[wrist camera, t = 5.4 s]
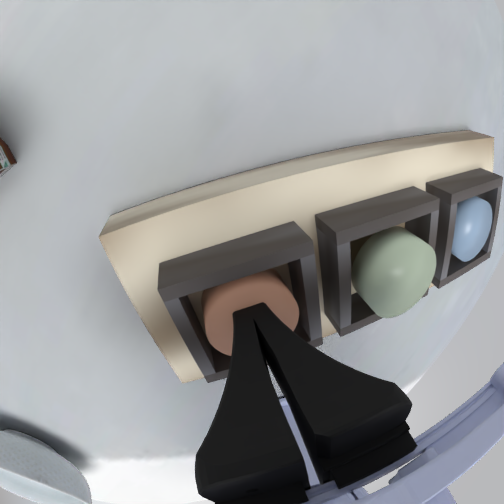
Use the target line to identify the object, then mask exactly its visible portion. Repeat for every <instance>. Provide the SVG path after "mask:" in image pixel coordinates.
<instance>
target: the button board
mask: <svg viewBox="0 0 504 504" xmlns="http://www.w3.org/2000/svg"><path fill="white" fill-rule="evenodd" d="M493 159H494V137H491V136H488V135H484V134H481V133H477V132H473V131H470V130H465V131H454V132H445V133H436V134H428V135H420V136H413V137H406V138H399V139H393V140H387V141H381V142H375V143H369V144H364V145H358V146H353V147H348V148H343V149H338V150H333V151H328V152H323V153H319V154H314V155H310V156H305V157H301V158H297V159H292V160H288V161H284V162H280V163H276V164H272V165H268V166H264V167H260V168H257V169H253V170H249V171H245V172H242V173H238V174H235V175H231V176H228V177H224V178H221V179H217V180H214V181H211V182H207V183H204V184H201V185H198V186H194V187H191V188H188V189H185V190H182V191H179V192H176V193H173V194H170V195H167V196H164V197H161V198H158V199H155V200H152V201H149V202H146V203H144V204H141V205H138V206H135V207H132V208H130V209H127V210H124V211H122V212H119V213H116V214H114V215H111V216H110V217H109V219H108V221H107V223H106V224H105V226H104V228H103V230H102V232H101V233H100V235H99V239H100V241H101V243H102V245H103V247H104V250H105V252H106V254H107V256H108V258H109V260H110V262H111V264H112V266H113V268H114V270H115V272H116V274H117V276H118V278H119V280H120V282H121V284H122V285H123V287H124V289H125V291H126V293H127V295H128V297H129V298H130V300H131V302H132V304H133V306H134V307H135V309H136V311H137V313H138V314H139V316H140V318H141V320H142V321H143V323H144V325H145V326H146V328H147V330H148V331H149V333H150V335H151V336H152V338H153V339H154V341H155V343H156V344H157V346H158V347H159V349H160V351H161V352H162V354H163V355H164V357H165V358H166V360H167V361H168V363H169V364H170V366H171V367H172V369H173V370H174V372H175V373H176V375H177V376H178V378H179V379H180V380H181V382H182V383H186V382H190V381H194V380H198V379H202V378H205V379H206V380H207V382H208V383H210V382H213V381H217V380H220V379H224V378H227V376H228V372H229V366H230V360H231V356H229V355H226V354H223V353H221V352H220V351H218V350H217V349H215V348H214V347H213V346H212V345H211V343H210V342H209V340H208V338H207V334H206V329H205V323H204V318H203V312H202V306H201V298H202V294H203V291H204V290H205V289H208V288H212V287H215V286H218V285H221V284H224V283H227V282H230V281H234V280H237V279H240V278H243V277H246V276H249V275H252V274H255V273H258V272H261V271H264V270H267V269H270V268H273V269H274V270H276V271H277V272H278V273H279V275H280V276H281V277H282V279H283V281H284V282H285V284H286V286H287V287H288V289H289V290H290V292H291V294H292V295H293V297H294V299H295V300H296V302H297V305H298V308H299V319H298V323H297V325H296V328H295V330H294V331H293V332H294V333H296V334H297V335H298V336H299V337H301V338H302V339H303V340H305V341H306V342H307V343H309V344H310V345H312V346H313V347H314V348H315V347H317V346H320V345H322V344H323V339H322V338H324V337H326V336H329V335H331V334H334V333H336V332H338V334H339V335H340V337H341V336H344V335H346V334H348V333H351V332H353V331H355V330H357V329H360V328H362V327H364V326H366V325H368V324H371V323H373V322H375V321H377V320H379V319H381V318H382V317H380V316H378V315H377V314H376V313H375V312H374V311H373V310H372V309H371V308H370V306H369V305H368V304H367V303H366V302H365V301H364V300H363V299H362V297H361V296H360V295H359V294H358V293H357V292H356V291H355V289H354V287H353V285H352V281H351V272H352V267H353V263H354V260H355V258H356V256H357V254H358V252H359V250H360V249H361V247H362V246H363V245H364V243H365V242H366V241H367V240H368V239H369V238H370V237H371V236H372V235H374V234H375V233H376V232H379V231H382V230H385V229H387V228H390V227H393V226H400V227H403V228H405V229H406V230H408V231H409V232H411V233H412V234H414V235H415V236H417V237H418V238H420V239H421V240H423V241H424V242H426V243H427V244H429V245H430V246H431V247H432V248H433V250H434V252H435V255H436V270H435V274H434V277H433V279H432V282H431V284H430V286H429V288H431V287H432V286H434V285H435V286H436V287H437V288H438V289H439V288H441V287H442V286H444V285H446V284H448V283H449V282H451V281H453V280H455V279H456V278H458V277H460V276H461V275H463V274H464V273H466V272H468V271H469V270H471V269H473V268H474V267H476V266H477V265H479V264H480V263H482V262H483V261H485V260H487V259H488V258H490V254H491V250H492V245H493V240H494V236H495V230H496V225H497V219H498V213H499V206H500V199H501V190H502V180H503V177H502V176H499V175H497V174H495V173H493ZM474 196H477V197H479V198H481V199H483V200H485V201H487V202H488V203H489V204H490V206H491V209H492V224H491V229H490V232H489V235H488V238H487V240H486V242H485V244H484V246H483V247H482V249H481V250H480V252H479V253H478V254H477V255H476V256H475V257H474V258H473V259H471V260H469V261H467V262H464V261H461V260H460V259H459V258H457V257H456V256H454V255H453V254H452V253H451V251H452V244H453V238H454V230H455V222H456V213H457V203H459V202H461V201H464V200H466V199H469V198H472V197H474ZM429 288H428V289H429ZM428 289H427V291H426V292H425V294H424V295H423V296H422V298H423V297H425V296H426V295H427V294H428ZM266 363H267V361H266ZM267 365H268V363H267Z"/></svg>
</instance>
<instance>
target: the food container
mask: <svg viewBox="0 0 504 504" xmlns="http://www.w3.org/2000/svg"><path fill="white" fill-rule="evenodd" d="M16 163H17V162H16V160H15V158H14V156H13V154H12V153H11V151H10V149H9V147H8V145H7V144H6V143H5V142H4V141H3V140H2V139H1V138H0V177H1V176H3V175H4V174H5V173H6V172H7V171H8V170H9V169H10V168H12V167H13V166H14V165H15V164H16Z"/></svg>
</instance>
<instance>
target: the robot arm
mask: <svg viewBox="0 0 504 504" xmlns="http://www.w3.org/2000/svg"><path fill="white" fill-rule="evenodd" d="M232 316H233V344H232V354H231V360H230V366H229V372H228V376H227V381H226V385H225V388H224V392H223V395H222V398H221V401H220V404H219V407H218V410H217V412H216V415H215V417H214V420H213V422H212V424H211V427H210V429H209V431H208V433H207V435H206V437H205V439H204V441H203V443H202V445H201V446H200V448H199V450H198V452H197V454H196V461H195V479H196V484H197V489H198V494H200V495H201V496H202V497H204V498H206V499H208V500H211V501H213V502H215V504H457V503H456V501H455V500H454V498H453V496H452V495H451V493H450V491H449V490H448V488H447V487H448V486H449V485H450V484H451V483H453V482H454V481H456V480H457V479H458V478H459V477H460V476H461V475H463V474H464V473H465V472H466V471H467V470H469V469H470V468H471V467H472V466H473V465H474V464H476V463H477V462H478V461H479V460H480V459H481V458H482V457H483V456H484V455H485V454H486V453H487V452H488V451H489V450H490V449H491V448H492V447H493V446H494V445H495V444H496V443H497V442H498V441H499V440H500V439H501V438H502V437H503V436H504V363H503V364H502V365H501V366H500V367H499V368H498V369H497V370H496V371H495V373H494V374H493V376H492V377H491V379H490V381H489V382H488V383H487V384H486V385H485V386H484V387H483V388H482V389H480V390H479V391H478V392H477V393H476V394H474V395H473V396H472V397H471V398H470V399H468V400H467V401H466V402H465V403H464V404H462V405H461V406H460V407H459V408H457V409H456V410H455V411H453V412H452V413H451V414H449V415H448V416H447V417H445V418H444V419H443V420H441V421H440V422H438V423H437V424H436V425H434V426H433V427H431V428H430V429H428V430H427V431H425V432H424V433H422V434H421V435H419V436H418V437H416V438H414V439H413V438H412V436H411V435H410V433H409V429H410V428H409V426H408V424H407V423H406V421H405V420H406V418H407V417H408V415H409V413H410V411H411V407H412V403H411V401H410V399H409V398H408V397H407V395H406V394H405V393H404V392H403V391H402V390H401V389H400V388H399V387H398V386H397V385H396V384H395V383H393V382H389V381H386V380H382V379H379V378H376V377H373V376H370V375H367V374H365V373H362V372H360V371H357V370H355V369H353V368H351V367H349V366H346V365H344V364H342V363H340V362H338V361H336V360H334V359H333V358H331V357H329V356H327V355H326V354H324V353H322V352H321V351H319V350H317V349H316V348H314V347H313V346H312V345H310V344H309V343H307V342H306V341H305V340H303V339H302V338H301V337H299V336H298V335H297V334H296V333H294V332H293V331H292V330H291V329H290V328H289V327H288V326H286V325H285V324H284V323H283V322H282V321H281V320H280V319H279V318H278V317H277V316H276V315H275V314H274V313H273V312H272V311H271V309H270V308H269V307H268V306H267V304H266V303H264V302H261V303H258V304H255V305H252V306H249V307H246V308H243V309H240V310H237V311H234V312H233V314H232ZM266 361H267V363H268V365H269V367H270V369H271V371H272V373H273V375H274V377H275V379H276V381H277V383H278V385H279V387H280V389H281V391H282V393H283V395H284V396H285V398H282V399H278V397H277V394H276V392H275V389H274V387H273V384H272V382H271V378H270V374H269V370H268V366H267V363H266ZM420 454H421V455H420ZM418 455H420V456H418ZM417 456H418V457H417ZM415 457H417V458H415ZM414 458H415V459H414ZM412 459H414V460H413V461H411V462H410V463H408V464H407V465H405V466H404V467H403V468H401V469H400V470H399V471H398V473H397V474H396V475H395V476H394V477H393V478H392V479H390V480H389V485H388V486H386V487H384V488H382V489H380V490H378V491H376V492H374V493H372V494H368V493H367V491H366V490H365V489H364V488H363V487H362V486H365V485H367V484H369V483H371V482H373V481H375V480H377V479H379V478H380V477H382V476H384V475H386V474H388V473H390V472H392V471H393V470H395V469H397V468H399V467H400V466H402V465H404V464H405V463H407V462H409V461H410V460H412Z"/></svg>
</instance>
